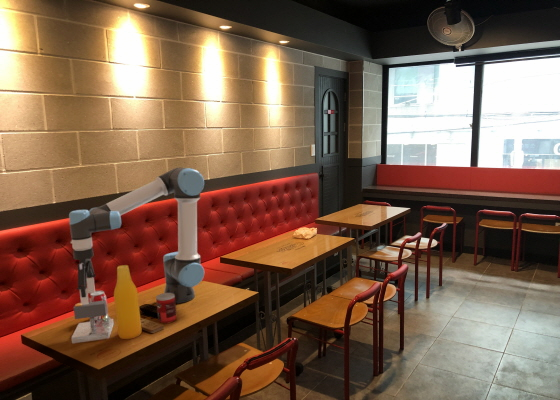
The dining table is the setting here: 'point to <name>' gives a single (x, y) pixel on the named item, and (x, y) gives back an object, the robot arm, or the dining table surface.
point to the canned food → (166, 307)
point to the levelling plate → (93, 330)
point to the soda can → (98, 297)
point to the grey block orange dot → (90, 311)
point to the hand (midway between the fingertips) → (88, 298)
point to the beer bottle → (127, 305)
